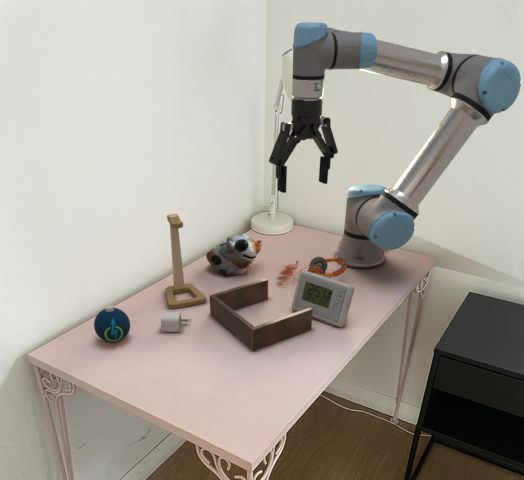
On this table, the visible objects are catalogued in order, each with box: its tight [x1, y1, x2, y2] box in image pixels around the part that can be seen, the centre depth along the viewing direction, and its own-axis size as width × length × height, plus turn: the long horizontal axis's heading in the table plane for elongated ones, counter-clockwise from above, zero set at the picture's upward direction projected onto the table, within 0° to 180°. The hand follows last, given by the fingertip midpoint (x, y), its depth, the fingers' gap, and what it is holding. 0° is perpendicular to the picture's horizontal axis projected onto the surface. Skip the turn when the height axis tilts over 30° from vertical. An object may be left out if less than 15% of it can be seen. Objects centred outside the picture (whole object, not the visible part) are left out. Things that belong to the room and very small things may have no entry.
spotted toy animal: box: [205, 234, 264, 277], centre depth 162 cm, size 15×12×14 cm
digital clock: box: [291, 269, 355, 328], centre depth 139 cm, size 16×9×11 cm, turn 42°
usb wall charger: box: [160, 311, 192, 333], centre depth 135 cm, size 4×7×4 cm, turn 88°
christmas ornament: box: [93, 304, 131, 343], centre depth 129 cm, size 8×8×10 cm
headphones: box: [278, 256, 348, 286], centre depth 160 cm, size 17×5×20 cm
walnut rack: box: [208, 277, 313, 352], centre depth 138 cm, size 18×20×6 cm
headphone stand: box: [165, 213, 207, 310], centre depth 144 cm, size 10×11×22 cm
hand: (302, 187), depth 141 cm, fingers open, 13 cm apart
